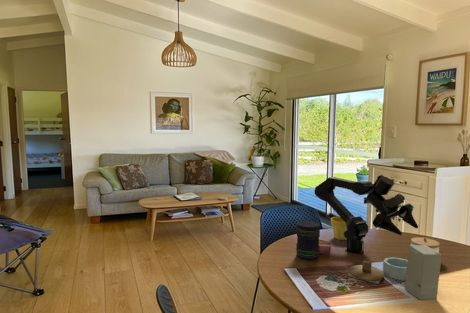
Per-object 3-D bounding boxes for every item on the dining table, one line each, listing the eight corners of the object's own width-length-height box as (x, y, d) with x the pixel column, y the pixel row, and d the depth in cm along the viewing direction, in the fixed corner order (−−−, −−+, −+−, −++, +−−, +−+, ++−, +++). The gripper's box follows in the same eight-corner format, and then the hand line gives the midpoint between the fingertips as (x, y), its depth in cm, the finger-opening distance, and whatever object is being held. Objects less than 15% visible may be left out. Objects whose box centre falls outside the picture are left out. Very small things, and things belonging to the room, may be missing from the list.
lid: (345, 275, 125) (346, 263, 125) (355, 264, 135) (355, 254, 134) (379, 284, 118) (379, 271, 118) (387, 272, 127) (387, 261, 127)
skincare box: (403, 288, 115) (405, 244, 114) (423, 287, 116) (425, 243, 115) (419, 301, 107) (421, 253, 106) (440, 300, 108) (442, 252, 106)
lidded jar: (443, 265, 136) (444, 242, 135) (414, 262, 138) (415, 240, 137) (433, 255, 146) (434, 234, 145) (406, 253, 148) (407, 233, 147)
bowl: (380, 275, 126) (381, 263, 126) (387, 266, 134) (387, 255, 134) (410, 282, 120) (410, 270, 120) (414, 272, 128) (415, 261, 128)
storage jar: (323, 256, 144) (324, 223, 143) (312, 263, 137) (312, 228, 136) (303, 251, 151) (304, 219, 150) (291, 257, 144) (292, 223, 142)
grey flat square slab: (347, 276, 125) (347, 275, 125) (356, 266, 134) (356, 265, 134) (378, 284, 119) (378, 283, 119) (385, 273, 127) (385, 272, 127)
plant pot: (331, 240, 165) (332, 221, 164) (329, 234, 175) (329, 216, 174) (353, 241, 163) (354, 222, 163) (349, 235, 174) (350, 217, 173)
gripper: (370, 194, 130) (401, 223, 120) (403, 184, 138) (435, 210, 127) (361, 213, 137) (389, 242, 126) (393, 203, 144) (422, 229, 134)
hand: (409, 230), depth 128 cm, fingers open, 9 cm apart
